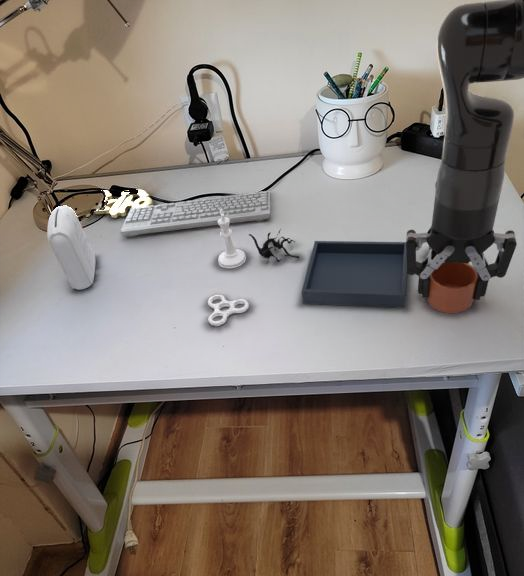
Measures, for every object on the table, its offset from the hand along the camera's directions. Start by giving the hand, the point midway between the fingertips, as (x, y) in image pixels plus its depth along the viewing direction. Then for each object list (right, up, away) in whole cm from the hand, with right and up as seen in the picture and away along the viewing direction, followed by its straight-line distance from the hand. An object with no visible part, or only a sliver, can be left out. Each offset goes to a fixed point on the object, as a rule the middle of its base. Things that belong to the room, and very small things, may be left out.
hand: (450, 295), depth 74 cm
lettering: (-63, +23, +35) cm, 76 cm away
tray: (-13, +3, +7) cm, 15 cm away
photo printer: (-60, +6, +18) cm, 63 cm away
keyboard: (-40, +19, +27) cm, 52 cm away
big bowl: (0, 0, +1) cm, 1 cm away
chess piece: (-33, +8, +15) cm, 37 cm away
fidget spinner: (-33, -2, +6) cm, 33 cm away
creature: (-25, +8, +14) cm, 30 cm away
